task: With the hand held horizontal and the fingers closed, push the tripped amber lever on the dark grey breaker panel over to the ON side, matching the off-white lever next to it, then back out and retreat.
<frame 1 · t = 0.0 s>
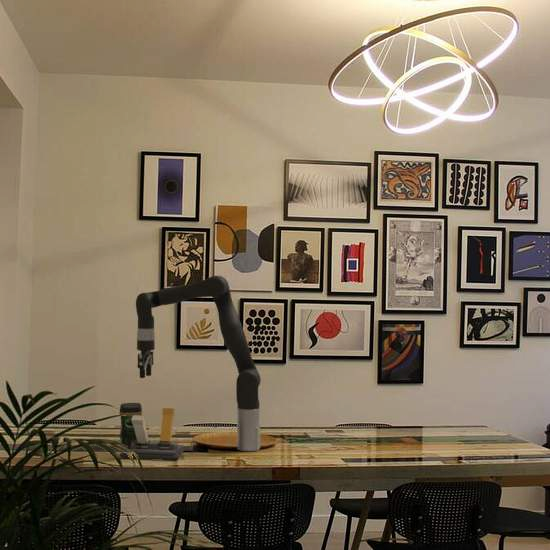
hand: (145, 376, 332), 29 cm above the table, tool pointing down, fingers open, 8 cm apart
grey flat bar: (149, 459, 306), on the table
coffee jar: (130, 447, 329), on the table
breaker panel: (155, 454, 314), on the table
breaker lever: (166, 427, 316), point 11 cm above the table, hinge at 20.0°
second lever: (140, 431, 311), point 10 cm above the table, hinge at -35.0°
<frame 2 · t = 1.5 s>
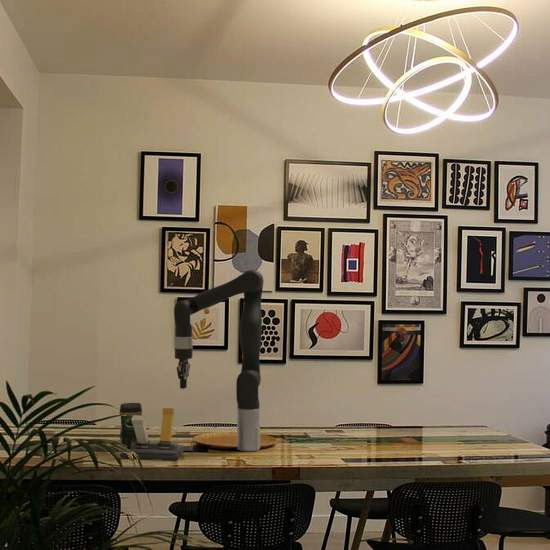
hand: (183, 388, 329), 25 cm above the table, tool pointing down, fingers closed
nothing on the table moved.
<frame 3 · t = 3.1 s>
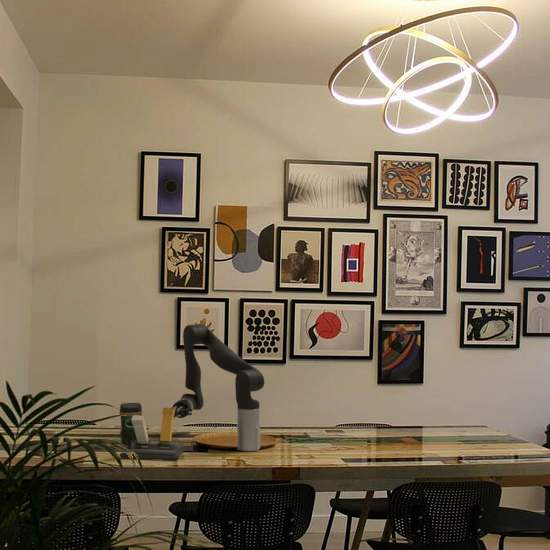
hand: (172, 415, 324), 14 cm above the table, tool horizontal, fingers closed
nothing on the table moved.
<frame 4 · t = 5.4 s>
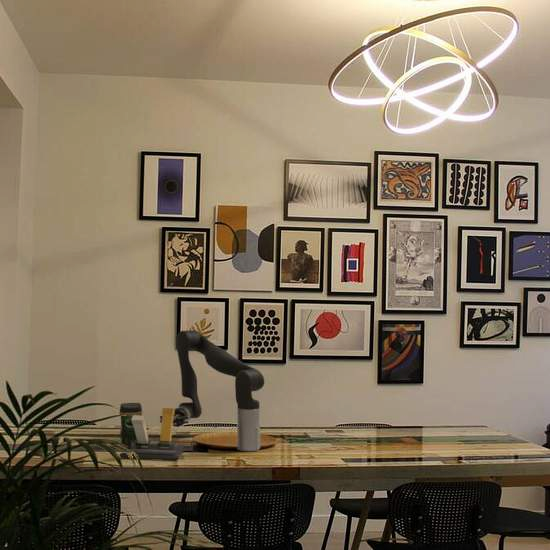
hand: (168, 423, 317), 12 cm above the table, tool horizontal, fingers closed
breaker lever: (166, 427, 316), point 11 cm above the table, hinge at 18.7°, touching gripper
everything else where it was.
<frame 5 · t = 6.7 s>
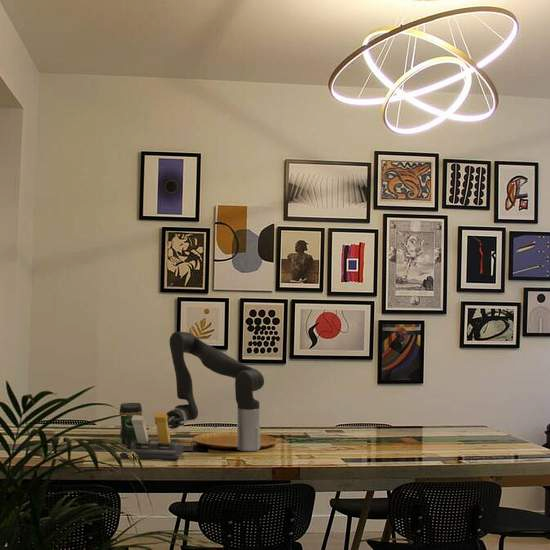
hand: (163, 424, 311), 13 cm above the table, tool horizontal, fingers closed
breaker lever: (163, 431, 310), point 10 cm above the table, hinge at -27.7°, touching gripper
everything else where it was.
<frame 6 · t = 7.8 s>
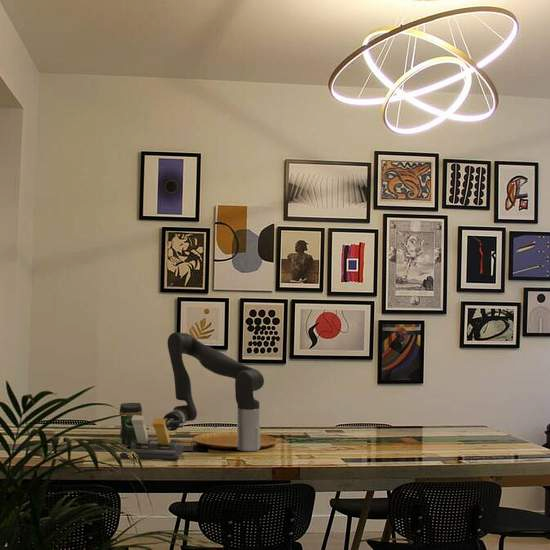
hand: (162, 427, 309), 12 cm above the table, tool horizontal, fingers closed
breaker lever: (162, 433, 309), point 9 cm above the table, hinge at -40.8°, touching gripper
everything else where it was.
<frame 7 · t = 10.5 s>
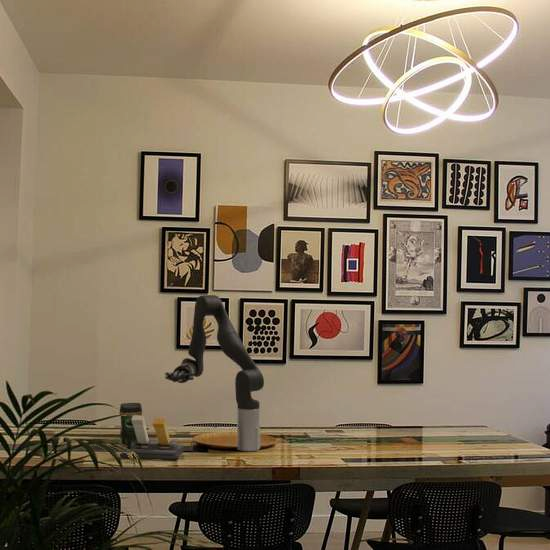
hand: (174, 379, 323), 29 cm above the table, tool horizontal, fingers closed
breaker lever: (162, 433, 309), point 9 cm above the table, hinge at -40.8°
everything else where it was.
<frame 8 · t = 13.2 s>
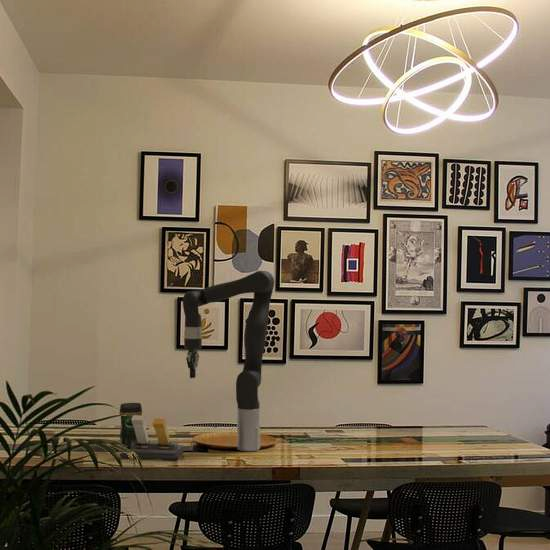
hand: (192, 377, 333), 29 cm above the table, tool pointing down, fingers closed
nothing on the table moved.
at the end: breaker lever at -41° (first picture: +20°) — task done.
